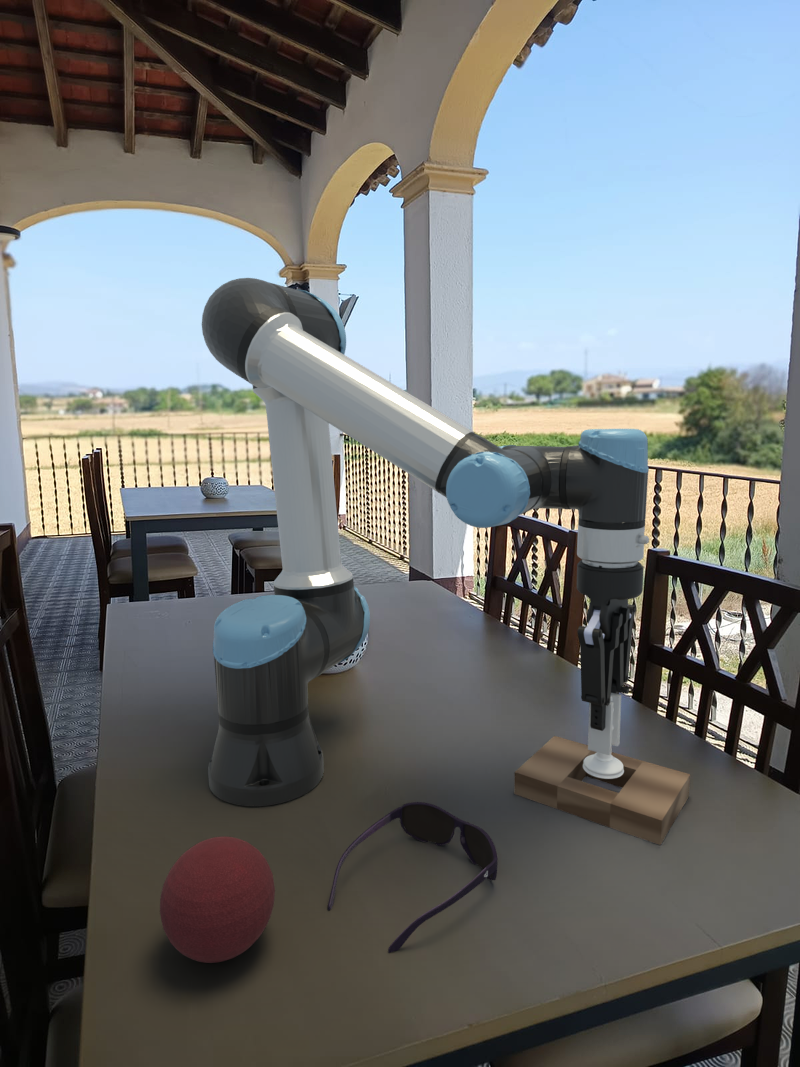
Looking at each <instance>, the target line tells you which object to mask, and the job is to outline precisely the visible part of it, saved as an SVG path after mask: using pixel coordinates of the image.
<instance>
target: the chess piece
mask: <svg viewBox="0 0 800 1067" xmlns="http://www.w3.org/2000/svg"><path fill="white" fill-rule="evenodd" d="M612 699H613V697H610V700H611V701H612ZM613 712H614V709H613ZM613 729H614V727H613V728H612V730H613ZM583 769H584V770H585V771H586V772H587V773H588V774H590V775H592V776H594V777H598V778H603V779H614V778H618V777H620V776H622V775H623V773H624V769H623V764H622V762H621V761H620V760H618V759H617V758H615V757H613V756H612V755H611V754H610V755H606V754H602V753H599V752H597V753H595V754H593V755H590V756H587V757H586V758H585V759H584V762H583Z"/></svg>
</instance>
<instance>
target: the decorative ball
mask: <svg viewBox="0 0 800 1067" xmlns="http://www.w3.org/2000/svg"><path fill="white" fill-rule="evenodd" d="M274 881H275V880H274V874H273V872H272V869H271V867H270V865H269V862H268V860H267V859H266V857H265V856H264V855H263V854H262V853H261V851H260V850H259V849H258V848H257V847H255V846H254V845H252V844H251V843H249V842H248V841H246V840H243V839H241V838H238V837H232V836H223V835H222V836H216V837H214V836H213V837H210V838H206V839H204V840H202V841H200V842H197V843H196V844H194V845H193V846H192V847H190V848H188V849H187V850H185V851H184V853H182V854H181V856H179V858H178V859H177V860H176V861H175V862H174V864H173V865H172V867H171V868H170V870H169V872H168V873H167V875H166V877H165V880H164V883H163V885H162V888H161V892H160V901H159V915H160V919H161V924H162V929H163V932H164V933H165V935H166V937H167V939H168V940H169V942H170V944H171V945H172V946H173V947H174V949H176V950H177V951H178V952H179V953H180V954H182V955H183V956H185V957H186V958H188V959H191V960H193V961H196V962H199V963H205V964H206V963H209V964H212V963H213V964H214V963H220V962H225V961H228V960H231V959H234V958H236V957H237V956H239V955H240V956H241V954H243V953H244V952H246V951H247V950H249V948H251V947H252V946H253V944H255V943H256V941H257V940H259V938H260V937H261V936H262V934H263V932H264V931H265V929H266V927H267V926H268V924H269V921H270V919H271V917H272V913H273V910H274V906H275V897H276V888H275V887H276V886H275V882H274Z"/></svg>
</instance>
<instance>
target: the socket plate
mask: <svg viewBox="0 0 800 1067" xmlns="http://www.w3.org/2000/svg"><path fill="white" fill-rule="evenodd" d="M595 753H597V752H595V751H592V750H588V744H585V743H581V742H578V741H574V740H571V739H567V738H564V737H561V736H557V735H554V736H552V737H551V738H550V739H549V740H548V741H547V742H546V743H545V744H544V745H542V747H540V748H539V749H538V750H537V751H536V752H535V753H534V754H533V755H532V756H530V757H529V758H528V759H527V760H526V761H525V762H524V763H523V764H522V765H521V766H519V767H518V768H517V769H516V770H515V771H514V776H513V777H514V780H513V781H514V786H513V787H514V788H513V789H514V790H513V793H514V795H516V796H519V797H521V798H524V799H527V800H529V801H530V800H531V801H533V802H535V803H538V804H542V805H544V806H548V807H550V808H553V809H556V810H558V811H559V810H560V811H562V812H564V813H567V814H570V815H574V816H576V817H579V818H581V819H585V820H588V821H590V822H592V823H597V824H599V825H602V826H604V827H608V828H611V829H613V830H615V831H618V832H621V833H624V834H626V835H630V836H632V837H633V836H634V837H636V838H639V839H642V840H645V841H647V842H650V843H653V844H655V845H659V846H661V845H662V843H663V842H664V840H665V838H666V836H667V835H668V833H669V831H670V830H671V828H672V827H673V825H674V823H675V822H676V820H677V817H678V816H679V814H680V812H681V811H682V809H683V807H684V806H685V804H686V802H687V801H688V798H690V786H691V784H690V783H691V774H690V773H687V772H684V771H681V770H680V771H679V770H677V769H674V768H673V769H672V768H669V767H666V766H662V765H658V764H655V763H653V762H648V761H645V760H641V759H638V758H634V757H631V756H627V755H623V754H621V753H616V752H613V751H612V753H611V755H612V756H613V757H615V758H617V759H618V760H620V761H621V762H622V764H623V769H624V773H623V775H622V776H620V777H618V778H614V779H603V778H598V777H594V776H592V775H590V774H588V773H587V772H586V771H585V770H584V769H583V762H584V759H585V758H586V757H587V756H590V755H593V754H595ZM585 778H589V779H593V780H597V781H599V782H603V783H606V784H609V785H613V786H615V787H619V788H621V789H620V791H619V792H617V791H613V790H612V789H611V790H610V789H607V788H604V787H602V786H598V785H595V784H592V783H588V782H585V781H583V780H585Z"/></svg>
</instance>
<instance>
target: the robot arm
mask: <svg viewBox="0 0 800 1067" xmlns="http://www.w3.org/2000/svg"><path fill="white" fill-rule="evenodd" d="M201 332H202V336H203V339H204V342H205V345H206V347H207V349H208V351H209V352H210V354H211V355H212V356H213V358H214V359H215V361H217V362H218V363H220V365H222V366H223V367H224V368H226V369H227V370H229V371H230V372H232V373H233V374H234V375H236V376H238V377H239V378H241V379H242V380H244V381H246V382H248V383H249V384H250V385H252V392H253V393H254V394H255V395H256V396H257V397H258V398H259V399H261V400H262V401H263V402H264V405H265V412H266V420H267V433H268V441H269V450H270V459H271V460H270V461H271V469H272V480H273V490H274V498H275V499H274V500H275V507H276V517H277V518H276V520H277V526H278V528H277V529H278V538H279V547H280V556H281V566H282V567H281V568H282V570H281V572H280V573H279V575H278V576H277V577H276V578H275V579H274V581H273V591H274V594H269V595H259V596H257V597H255V598H246V599H243V600H241V601H238V602H235V603H233V604H232V605H229V606H228V607H226V608H225V609H224V610H222V611H221V612H220V613H219V615H218V616H217V618H216V619H215V622H214V625H213V642H212V655H213V659H214V674H215V688H216V697H217V698H216V699H217V712H218V731H217V734H216V738H215V743H214V746H213V751H212V756H211V757H210V759H209V762H208V767H207V775H208V786H209V790H210V791H211V792H212V794H213V796H215V797H216V798H218V799H219V800H222V801H224V802H226V803H229V804H232V805H236V806H244V807H245V806H246V807H262V806H263V807H264V806H265V807H267V806H273V805H277V804H282V803H286V802H290V801H293V800H295V799H298V798H300V797H302V796H304V795H306V794H307V793H309V792H310V791H312V790H313V789H314V788H316V786H318V785H319V783H320V782H321V781H320V780H322V779H323V777H324V774H323V773H324V772H325V766H324V765H325V763H324V762H325V761H324V753H323V750H322V747H321V745H320V744H319V740H318V738H317V735H316V732H315V729H314V727H313V725H312V722H311V719H310V715H309V714H310V713H309V692H308V688H309V687H308V684H309V682H311V681H312V680H314V679H316V678H317V677H319V676H320V675H322V674H323V673H324V672H327V671H328V670H330V669H331V668H332V667H334V666H337V665H339V664H341V663H343V662H345V661H346V660H347V659H350V657H351V656H352V655H353V654H354V653H355V652H356V651H357V650H358V649H359V648H360V647H362V645H363V643H364V642H365V641H366V638H367V636H368V633H369V630H370V625H371V614H370V607H369V604H368V602H367V600H366V597H365V596H364V595H362V594H361V592H360V590H359V589H358V587H356V586H355V583H354V575H353V573H352V572H351V571H350V570H348V568H347V567H345V566H344V565H343V563H342V556H341V544H340V535H339V522H338V512H337V500H336V489H335V478H334V468H333V455H332V446H331V435H330V434H331V433H330V425H331V426H332V427H335V429H337V430H339V431H341V432H342V433H344V434H345V435H347V436H348V437H350V438H352V439H353V440H355V441H356V442H358V443H359V444H361V445H362V446H364V447H366V448H367V449H369V450H371V451H372V452H373V453H375V454H377V455H378V456H380V457H381V458H384V459H385V460H386V461H388V462H389V463H391V464H393V465H394V466H396V467H397V468H399V469H401V470H402V471H404V472H405V473H407V474H408V475H410V476H412V477H413V478H415V479H416V480H418V481H419V482H421V483H422V484H424V485H426V486H427V487H428V488H430V489H432V490H434V491H436V492H437V493H439V494H440V495H442V496H443V497H444V498H446V500H447V503H448V505H449V507H450V509H451V511H452V512H453V513H454V516H455V517H457V519H458V520H460V521H461V522H463V523H464V524H466V525H469V526H471V527H473V528H480V529H487V528H494V527H498V526H503V525H506V524H510V522H513V521H514V520H516V519H517V518H518V517H519V516H520V515H523V514H526V513H527V512H529V511H531V510H534V509H548V510H549V509H553V510H555V509H556V510H557V509H560V510H577V511H578V521H577V522H578V524H577V541H576V542H577V543H576V544H577V545H576V546H577V547H576V555H577V558H580V560H579V561H578V563H577V564H576V590H577V591H578V592H579V593H580V594H581V595H583V596H586V597H587V598H588V599H589V605H588V608H587V611H586V617H585V618H586V620H585V621H586V623H587V625H586V626H583V625H579V626H578V628H577V637H578V642H579V655H580V660H579V661H580V682H581V683H580V685H581V687H580V688H581V689H580V690H581V695H580V699H581V701H583V702H585V703H588V728H587V730H588V732H587V733H588V735H587V736H588V738H587V745H588V750H592V751H595V752H599V753H602V754H606V755H610V754H611V753H612V752H613V751H612V749H613V746H615V747H619V746H620V741H621V740H620V738H621V737H620V736H621V718H622V717H621V712H622V694H625V695H628V694H629V692H630V687H629V686H626V685H624V684H626V683H628V682H629V678H630V677H629V676H630V674H629V673H630V672H629V671H630V661H631V660H630V659H631V649H632V636H633V628H634V627H633V626H634V625H633V624H634V620H635V615H636V612H637V608H636V605H635V604H629V600H631V599H635V598H637V597H639V596H641V595H642V593H643V591H644V588H643V587H644V566H643V564H642V563H641V561H642V560H643V559H644V555H645V554H644V553H645V545H647V544H649V542H650V537H649V536H648V535H645V529H646V528H645V527H646V519H647V518H646V517H647V516H646V515H647V500H648V499H647V498H648V482H649V479H648V478H649V470H650V469H649V457H648V456H649V451H648V449H649V448H648V445H649V444H648V437H647V435H646V434H645V432H644V431H643V430H641V429H639V428H593V429H592V428H589V429H584V430H583V431H582V432H581V434H580V440H579V441H578V445H570V446H569V445H567V446H547V445H544V446H543V445H542V446H541V445H514V444H509V445H501V446H500V445H499V446H498V445H496V444H495V443H493V442H491V441H489V440H488V439H487V438H485V437H483V436H482V435H478V434H477V433H475V432H474V431H473V430H471V429H469V428H468V427H467V426H465V425H463V424H461V423H460V422H458V421H456V420H455V419H453V418H451V417H449V416H448V415H446V414H444V413H443V412H441V411H439V410H437V409H435V408H434V407H432V406H431V405H429V404H427V403H426V402H424V401H423V400H421V399H419V398H417V397H416V396H414V395H412V394H411V393H409V392H407V391H405V390H404V389H402V388H401V387H399V386H397V385H395V384H394V383H392V382H391V381H389V380H387V379H386V378H384V377H382V376H381V375H379V374H377V373H375V372H374V371H372V370H370V369H369V368H367V367H365V366H363V365H361V364H360V363H359V362H357V361H355V360H354V359H352V358H350V357H349V356H347V355H345V353H346V348H347V334H346V328H345V326H344V323H343V320H342V318H341V316H340V315H339V313H338V311H337V310H336V309H335V308H334V306H332V305H331V303H329V302H328V301H327V300H325V299H323V298H321V297H319V296H317V295H316V294H315V293H312V292H309V291H307V290H303V289H299V288H298V289H294V288H291V287H287V286H284V285H279V284H277V283H273V282H269V281H265V280H262V279H259V278H255V277H254V278H253V277H242V278H235V279H231V280H229V281H227V282H225V283H222V284H221V285H220V286H218V288H216V289H215V290H214V292H213V293H212V294H211V295H210V296H209V297H208V299H207V301H206V303H205V306H204V308H203V312H202V316H201ZM610 697H613V699H612V701H611V700H610ZM613 709H614V712H613ZM613 727H614V729H613V730H612V728H613ZM322 776H323V777H322ZM321 778H322V779H321ZM319 781H320V782H319ZM308 791H309V792H308Z"/></svg>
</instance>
